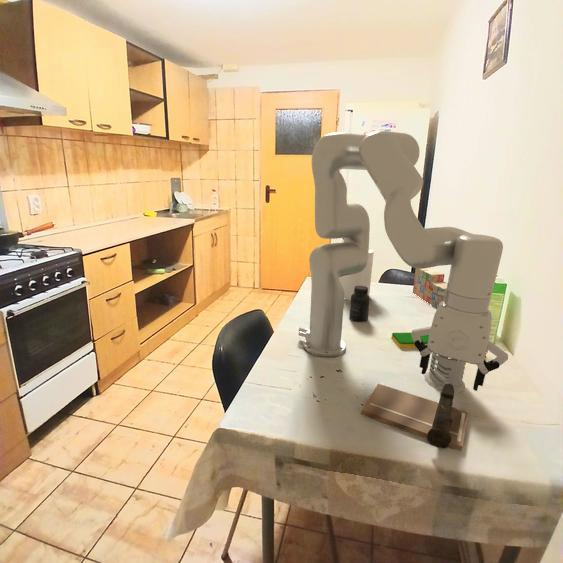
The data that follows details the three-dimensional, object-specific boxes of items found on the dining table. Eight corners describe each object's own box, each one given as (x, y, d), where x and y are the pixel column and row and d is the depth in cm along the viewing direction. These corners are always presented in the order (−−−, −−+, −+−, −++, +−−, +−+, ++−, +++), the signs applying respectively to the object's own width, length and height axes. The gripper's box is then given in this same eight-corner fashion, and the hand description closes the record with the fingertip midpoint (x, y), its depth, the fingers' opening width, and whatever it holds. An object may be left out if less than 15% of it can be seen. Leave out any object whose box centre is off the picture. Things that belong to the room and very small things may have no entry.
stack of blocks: (453, 310, 139) (458, 280, 135) (438, 311, 138) (443, 281, 134) (425, 292, 159) (428, 266, 155) (411, 293, 158) (415, 266, 155)
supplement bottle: (371, 321, 127) (375, 289, 123) (355, 323, 125) (358, 291, 121) (361, 314, 133) (363, 283, 129) (345, 316, 131) (347, 285, 127)
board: (361, 414, 78) (361, 409, 77) (377, 387, 88) (378, 383, 87) (461, 451, 68) (462, 446, 67) (467, 416, 78) (468, 411, 77)
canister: (339, 299, 148) (343, 252, 142) (336, 289, 160) (339, 246, 155) (372, 300, 147) (377, 253, 141) (365, 290, 160) (370, 247, 154)
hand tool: (448, 453, 66) (452, 432, 64) (425, 444, 68) (429, 424, 66) (460, 401, 81) (463, 384, 80) (441, 395, 83) (444, 378, 82)
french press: (441, 395, 85) (459, 297, 78) (411, 370, 96) (425, 282, 88) (474, 389, 88) (495, 294, 80) (442, 365, 98) (457, 279, 91)
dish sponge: (390, 339, 114) (391, 332, 114) (432, 338, 115) (433, 331, 115) (399, 349, 108) (400, 342, 107) (443, 349, 109) (444, 341, 108)
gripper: (414, 296, 68) (401, 373, 73) (521, 319, 59) (497, 404, 65) (422, 286, 74) (409, 358, 79) (520, 305, 65) (498, 384, 71)
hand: (449, 378), depth 72 cm, fingers open, 9 cm apart
